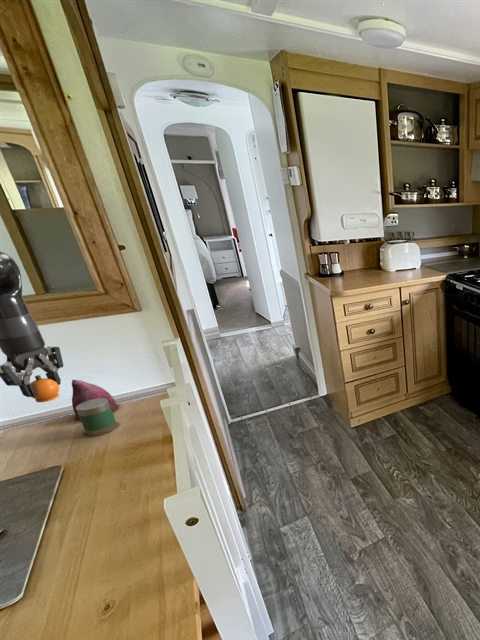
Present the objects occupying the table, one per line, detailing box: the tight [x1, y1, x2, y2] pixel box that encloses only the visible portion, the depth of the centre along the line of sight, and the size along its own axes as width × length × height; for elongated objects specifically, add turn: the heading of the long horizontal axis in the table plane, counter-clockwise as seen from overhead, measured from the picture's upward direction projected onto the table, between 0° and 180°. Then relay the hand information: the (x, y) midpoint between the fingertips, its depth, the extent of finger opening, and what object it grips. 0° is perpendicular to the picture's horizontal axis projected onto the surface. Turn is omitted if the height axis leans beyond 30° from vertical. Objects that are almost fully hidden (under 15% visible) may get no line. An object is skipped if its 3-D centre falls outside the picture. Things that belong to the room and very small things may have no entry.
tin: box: [76, 398, 118, 437], centre depth 115 cm, size 7×7×9 cm
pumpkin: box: [30, 374, 60, 403], centre depth 101 cm, size 6×6×7 cm
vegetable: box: [71, 379, 118, 421], centre depth 122 cm, size 10×10×15 cm
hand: (44, 390), depth 102 cm, fingers closed on pumpkin, 5 cm apart
